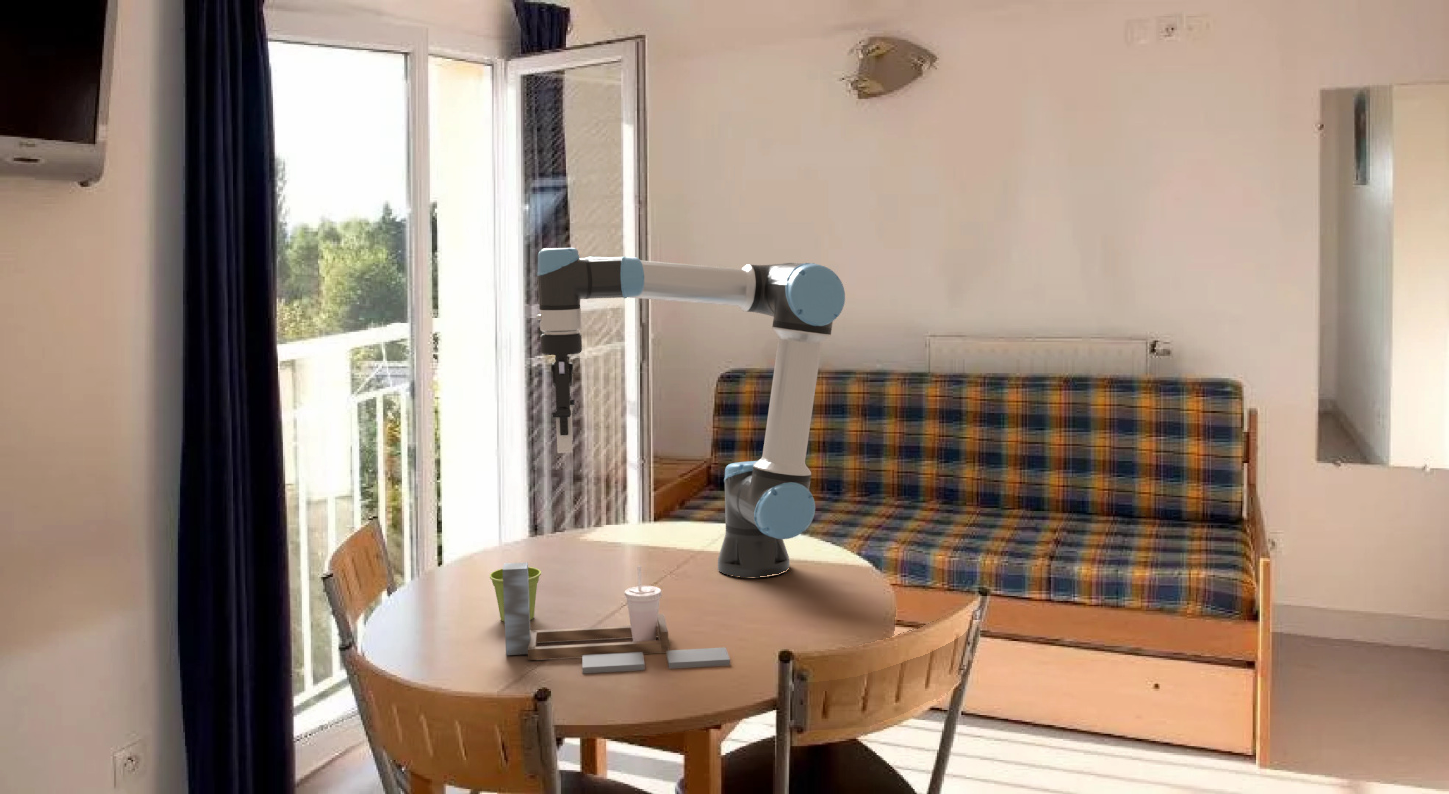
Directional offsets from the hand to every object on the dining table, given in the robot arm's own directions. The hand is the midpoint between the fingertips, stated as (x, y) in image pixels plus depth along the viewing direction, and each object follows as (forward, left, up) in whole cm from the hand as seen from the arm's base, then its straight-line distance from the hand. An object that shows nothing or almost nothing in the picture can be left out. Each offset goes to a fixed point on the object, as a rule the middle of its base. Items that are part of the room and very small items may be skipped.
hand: (565, 446), depth 228 cm
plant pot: (+10, +4, -32) cm, 33 cm away
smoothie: (-13, +23, -32) cm, 41 cm away
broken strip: (-14, +32, -31) cm, 47 cm away
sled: (-3, +23, -31) cm, 39 cm away
